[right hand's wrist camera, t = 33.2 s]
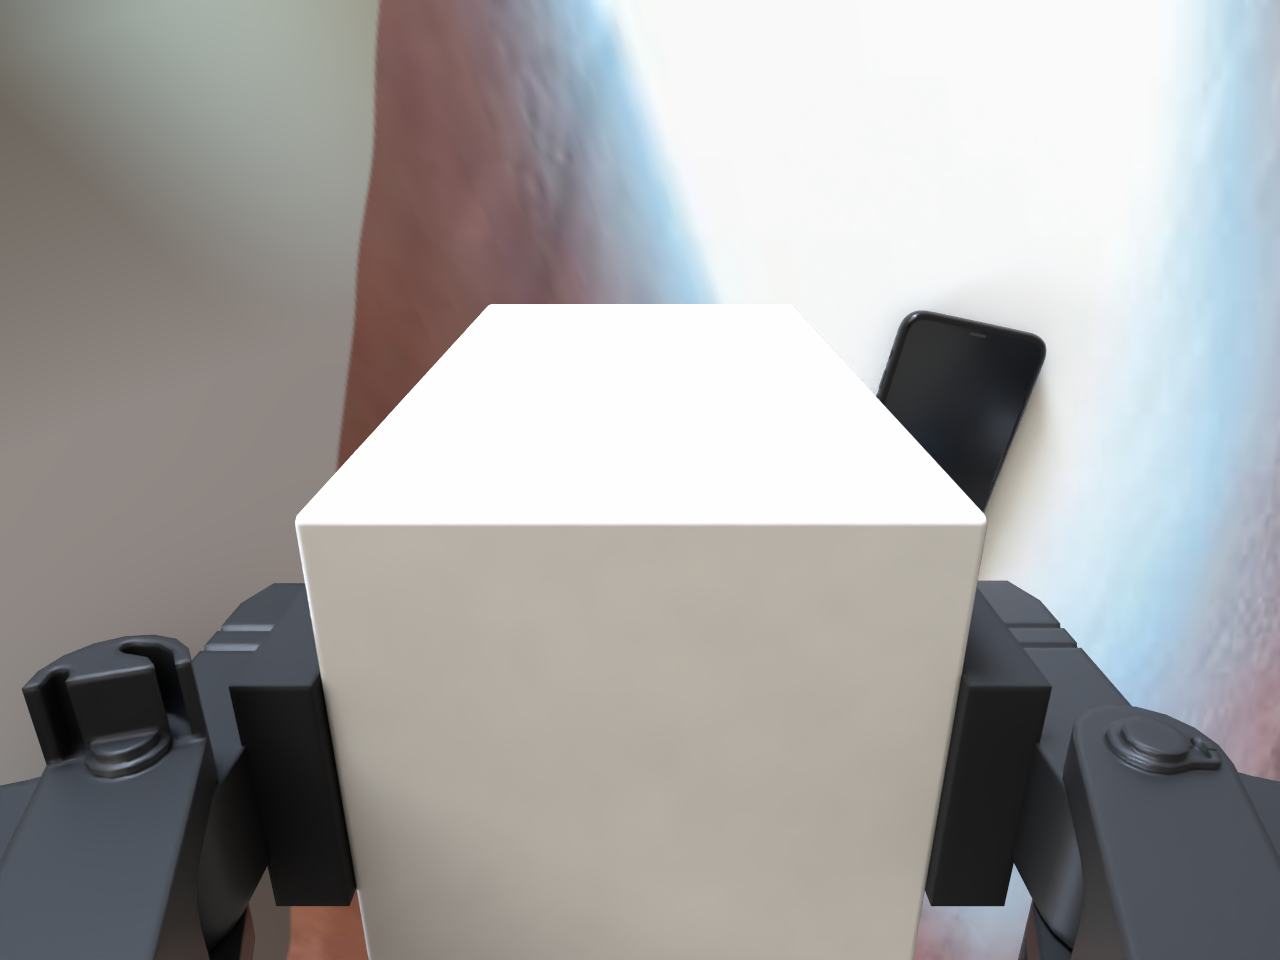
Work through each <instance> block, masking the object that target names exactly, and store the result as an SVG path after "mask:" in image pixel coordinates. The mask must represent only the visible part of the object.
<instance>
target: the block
mask: <svg viewBox="0 0 1280 960" xmlns="http://www.w3.org/2000/svg"><path fill="white" fill-rule="evenodd" d="M295 526H296V532H297V537H298V543H299V549H300V555H301V561H302V567H303V573H304V579H305V585H306V591H307V597H308V603H309V608H310V614H311V620H312V626H313V632H314V638H315V644H316V650H317V656H318V662H319V668H320V673H321V679H322V685H323V691H324V697H325V703H326V709H327V715H328V721H329V727H330V733H331V738H332V744H333V750H334V756H335V762H336V768H337V774H338V780H339V786H340V792H341V797H342V803H343V809H344V815H345V821H346V827H347V833H348V839H349V845H350V851H351V857H352V862H353V868H354V874H355V880H356V886H357V892H358V898H359V904H360V910H361V916H362V922H363V927H364V933H365V939H366V945H367V951H368V957H369V960H913V957H914V951H915V945H916V939H917V934H918V928H919V922H920V916H921V910H922V904H923V898H924V892H925V887H926V881H927V875H928V869H929V863H930V857H931V851H932V845H933V840H934V834H935V828H936V822H937V816H938V810H939V804H940V798H941V793H942V787H943V781H944V775H945V769H946V763H947V757H948V751H949V746H950V740H951V734H952V728H953V722H954V716H955V710H956V704H957V699H958V693H959V687H960V681H961V675H962V669H963V663H964V657H965V652H966V646H967V640H968V634H969V628H970V622H971V616H972V610H973V605H974V599H975V593H976V587H977V581H978V575H979V569H980V563H981V558H982V552H983V546H984V540H985V534H986V528H987V520H986V516H985V515H984V514H983V512H982V511H981V510H980V509H979V508H978V507H977V506H976V505H975V504H974V503H973V502H972V501H971V499H970V498H969V497H968V496H967V495H966V494H965V493H964V492H963V491H962V490H961V489H960V488H959V486H958V485H957V484H956V483H955V482H954V481H953V480H952V479H951V478H950V477H949V476H948V474H947V473H946V472H945V471H944V470H943V469H942V468H941V467H940V466H939V465H938V464H937V463H936V461H935V460H934V459H933V458H932V457H931V456H930V455H929V454H928V453H927V452H926V451H925V450H924V448H923V447H922V446H921V445H920V444H919V443H918V442H917V441H916V440H915V439H914V438H913V436H912V435H911V434H910V433H909V432H908V431H907V430H906V429H905V428H904V427H903V426H902V425H901V423H900V422H899V421H898V420H897V419H896V418H895V417H894V416H893V415H892V414H891V413H890V412H889V410H888V409H887V408H886V407H885V406H884V405H883V404H882V403H881V402H880V401H879V400H878V399H877V397H876V396H875V395H874V394H873V393H872V392H871V391H870V390H869V389H868V388H867V387H866V385H865V384H864V383H863V382H862V381H861V380H860V379H859V378H858V377H857V376H856V375H855V374H854V372H853V371H852V370H851V369H850V368H849V367H848V366H847V365H846V364H845V363H844V362H843V361H842V359H841V358H840V357H839V356H838V355H837V354H836V353H835V352H834V351H833V350H832V349H831V347H830V346H829V345H828V344H827V343H826V342H825V341H824V340H823V339H822V338H821V337H820V336H819V334H818V333H817V332H816V331H815V330H814V329H813V328H812V327H811V326H810V325H809V324H808V323H807V321H806V320H805V319H804V318H803V317H802V316H801V315H800V314H799V313H798V312H797V311H796V309H795V308H794V307H793V306H791V305H490V306H488V307H487V308H486V309H485V310H484V311H483V312H482V314H481V315H480V316H479V317H478V318H477V319H476V320H475V321H474V322H473V323H472V325H471V326H470V327H469V328H468V329H467V330H466V331H465V332H464V333H463V334H462V335H461V337H460V338H459V339H458V340H457V341H456V342H455V343H454V344H453V345H452V346H451V348H450V349H449V350H448V351H447V352H446V353H445V354H444V355H443V356H442V357H441V359H440V360H439V361H438V362H437V363H436V364H435V365H434V366H433V367H432V368H431V369H430V371H429V372H428V373H427V374H426V375H425V376H424V377H423V378H422V379H421V380H420V382H419V383H418V384H417V385H416V386H415V387H414V388H413V389H412V390H411V391H410V393H409V394H408V395H407V396H406V397H405V398H404V399H403V400H402V401H401V402H400V403H399V405H398V406H397V407H396V408H395V409H394V410H393V411H392V412H391V413H390V414H389V416H388V417H387V418H386V419H385V420H384V421H383V422H382V423H381V424H380V425H379V426H378V428H377V429H376V430H375V431H374V432H373V433H372V434H371V435H370V436H369V437H368V439H367V440H366V441H365V442H364V443H363V444H362V445H361V446H360V447H359V448H358V450H357V451H356V452H355V453H354V454H353V455H352V456H351V457H350V458H349V459H348V460H347V462H346V463H345V464H344V465H343V466H342V467H341V468H340V469H339V470H338V471H337V473H336V474H335V475H334V476H333V477H332V478H331V479H330V480H329V481H328V482H327V484H326V485H325V486H324V487H323V488H322V489H321V490H320V491H319V492H318V493H317V495H316V496H315V497H314V498H313V499H312V500H311V501H310V502H309V503H308V504H307V505H306V507H305V508H304V509H303V510H302V511H301V512H300V513H299V514H298V515H297V518H296V521H295Z"/></svg>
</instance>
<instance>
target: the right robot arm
mask: <svg viewBox="0 0 1280 960" xmlns="http://www.w3.org/2000/svg"><path fill="white" fill-rule="evenodd" d="M22 691H23V694H24V697H25V700H26V703H27V706H28V710H29V713H30V716H31V719H32V722H33V725H34V728H35V731H36V734H37V737H38V740H39V743H40V746H41V749H42V752H43V755H44V758H45V761H46V764H47V766H46V768H45V770H44V772H43V774H42V776H41V777H38V778H34V779H31V780H26V781H21V782H16V783H11V784H6V785H2V786H0V960H253V951H254V943H255V934H254V927H253V920H252V916H251V912H250V907H249V903H248V902H249V900H250V899H251V897H252V895H253V893H254V891H255V889H256V887H257V885H258V883H259V881H260V879H261V877H262V875H263V873H264V871H265V869H266V867H267V865H268V870H269V874H270V879H271V884H272V888H273V893H274V897H275V902H276V906H350V903H351V901H352V898H353V895H354V893H355V890H356V887H357V886H356V880H355V874H354V868H353V862H352V857H351V851H350V845H349V839H348V833H347V827H346V821H345V815H344V809H343V803H342V797H341V792H340V786H339V780H338V774H337V768H336V762H335V756H334V750H333V744H332V738H331V733H330V727H329V721H328V715H327V709H326V703H325V697H324V691H323V685H322V679H321V673H320V668H319V662H318V656H317V650H316V644H315V638H314V632H313V626H312V620H311V614H310V608H309V603H308V597H307V591H306V585H305V583H274V584H272V585H271V586H269V587H267V588H266V589H264V590H262V591H261V592H259V593H257V594H256V595H254V596H252V597H251V598H249V599H247V600H246V601H244V602H243V603H241V604H240V605H239V606H238V608H237V609H236V610H235V611H234V612H233V613H232V615H231V616H230V617H229V618H228V619H227V620H226V621H225V623H224V624H223V625H222V626H221V631H217V632H216V633H215V634H214V636H213V637H212V638H211V639H210V640H209V641H208V642H207V643H206V645H205V646H204V651H200V652H199V653H198V654H197V655H196V656H195V657H194V659H193V660H191V656H190V652H189V648H188V647H186V646H185V645H183V644H182V643H181V642H180V641H178V640H177V639H174V638H169V637H163V636H158V635H141V636H125V637H121V638H116V639H112V640H107V641H103V642H99V643H94V644H92V645H89V646H87V647H84V648H82V649H79V650H77V651H74V652H72V653H69V654H67V655H64V656H62V657H61V658H59V659H57V660H56V661H54V662H52V663H51V664H49V665H48V666H46V667H44V668H43V669H41V670H39V671H38V672H37V673H36V674H35V675H34V676H33V677H32V678H31V679H30V680H29V681H28V682H27V683H26V685H25V686H24V687H23V688H22ZM1013 863H1014V864H1015V866H1016V868H1017V870H1018V872H1019V874H1020V875H1021V877H1022V879H1023V881H1024V883H1025V885H1026V887H1027V889H1028V891H1029V893H1030V895H1031V897H1032V903H1031V907H1030V911H1029V916H1028V920H1027V924H1026V928H1025V933H1024V937H1023V941H1022V945H1021V950H1020V954H1019V958H1018V960H1280V782H1278V781H1273V780H1268V779H1263V778H1258V777H1254V776H1250V775H1246V774H1242V773H1238V772H1237V770H1236V768H1235V766H1234V764H1233V763H1232V761H1231V760H1230V759H1229V758H1228V756H1227V755H1226V754H1225V753H1224V751H1223V750H1222V749H1221V748H1220V746H1219V745H1218V744H1216V743H1215V742H1214V741H1212V740H1211V739H1209V738H1208V737H1207V736H1205V735H1204V734H1202V733H1201V732H1200V731H1198V730H1197V729H1195V728H1194V727H1192V726H1189V725H1187V724H1185V723H1183V722H1181V721H1178V720H1176V719H1174V718H1172V717H1170V716H1168V715H1165V714H1161V713H1158V712H1154V711H1150V710H1146V709H1142V708H1139V707H1133V706H1131V705H1130V703H1129V702H1128V701H1127V700H1126V699H1125V698H1124V697H1123V695H1122V694H1121V693H1120V692H1119V691H1118V690H1117V688H1116V687H1115V686H1114V685H1113V684H1112V683H1111V682H1110V680H1109V679H1108V678H1107V677H1106V676H1105V675H1104V674H1103V672H1102V671H1101V670H1100V669H1099V668H1098V667H1097V665H1096V664H1095V663H1094V662H1093V661H1092V660H1091V659H1090V657H1089V656H1088V655H1087V654H1086V653H1085V652H1084V651H1083V649H1082V648H1077V642H1076V641H1075V640H1074V639H1073V638H1072V637H1071V636H1070V634H1069V633H1068V632H1067V631H1066V630H1065V629H1064V628H1060V623H1059V622H1058V621H1057V619H1056V618H1055V617H1054V616H1053V615H1052V614H1051V613H1050V611H1049V610H1048V609H1047V608H1046V607H1045V606H1044V605H1043V603H1042V602H1041V601H1040V600H1038V599H1037V598H1035V597H1033V596H1032V595H1030V594H1028V593H1027V592H1025V591H1023V590H1022V589H1020V588H1018V587H1017V586H1015V585H1013V584H1012V583H1010V582H1008V581H977V587H976V593H975V599H974V605H973V610H972V616H971V622H970V628H969V634H968V640H967V646H966V652H965V657H964V663H963V669H962V675H961V681H960V687H959V693H958V699H957V704H956V710H955V716H954V722H953V728H952V734H951V740H950V746H949V751H948V757H947V763H946V769H945V775H944V781H943V787H942V793H941V798H940V804H939V810H938V816H937V822H936V828H935V834H934V840H933V845H932V851H931V857H930V863H929V869H928V875H927V881H926V887H925V891H926V894H927V897H928V899H929V902H930V904H931V906H1004V905H1005V900H1006V895H1007V891H1008V886H1009V882H1010V877H1011V873H1012V868H1013Z"/></svg>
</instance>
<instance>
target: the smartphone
mask: <svg viewBox="0 0 1280 960" xmlns="http://www.w3.org/2000/svg"><path fill="white" fill-rule="evenodd" d="M1045 356H1046V345H1045V343H1044V341H1043V340H1042V339H1041V338H1040V337H1039V336H1037V335H1035V334H1032V333H1029V332H1024V331H1020V330H1015V329H1010V328H1006V327H1001V326H997V325H992V324H987V323H983V322H978V321H973V320H969V319H964V318H959V317H954V316H950V315H945V314H940V313H935V312H930V311H915V312H912V313H910V314H909V315H907V316H906V317H905V318H904V320H903V321H902V323H901V325H900V327H899V329H898V332H897V335H896V338H895V341H894V344H893V347H892V350H891V353H890V356H889V360H888V363H887V366H886V369H885V371H884V373H883V376H882V379H881V382H880V385H879V390H878V393H877V395H876V397H877V399H878V400H879V401H880V402H881V403H882V404H883V405H884V406H885V407H886V408H887V409H888V410H889V412H890V413H891V414H892V415H893V416H894V417H895V418H896V419H897V420H898V421H899V422H900V423H901V425H902V426H903V427H904V428H905V429H906V430H907V431H908V432H909V433H910V434H911V435H912V436H913V438H914V439H915V440H916V441H917V442H918V443H919V444H920V445H921V446H922V447H923V448H924V450H925V451H926V452H927V453H928V454H929V455H930V456H931V457H932V458H933V459H934V460H935V461H936V463H937V464H938V465H939V466H940V467H941V468H942V469H943V470H944V471H945V472H946V473H947V474H948V476H949V477H950V478H951V479H952V480H953V481H954V482H955V483H956V484H957V485H958V486H959V488H960V489H961V490H962V491H963V492H964V493H965V494H966V495H967V496H968V497H969V498H970V499H971V501H972V502H973V503H974V504H975V505H976V506H977V507H978V508H979V509H980V510H981V511H982V512H983V513H984V511H985V508H986V506H987V503H988V501H989V498H990V496H991V493H992V491H993V488H994V486H995V483H996V481H997V478H998V476H999V473H1000V471H1001V468H1002V466H1003V463H1004V461H1005V458H1006V456H1007V453H1008V451H1009V448H1010V446H1011V443H1012V441H1013V438H1014V436H1015V434H1016V431H1017V429H1018V426H1019V424H1020V421H1021V419H1022V416H1023V414H1024V411H1025V409H1026V405H1027V403H1028V400H1029V398H1030V395H1031V393H1032V390H1033V388H1034V385H1035V383H1036V380H1037V378H1038V375H1039V373H1040V370H1041V368H1042V365H1043V363H1044V360H1045Z"/></svg>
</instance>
